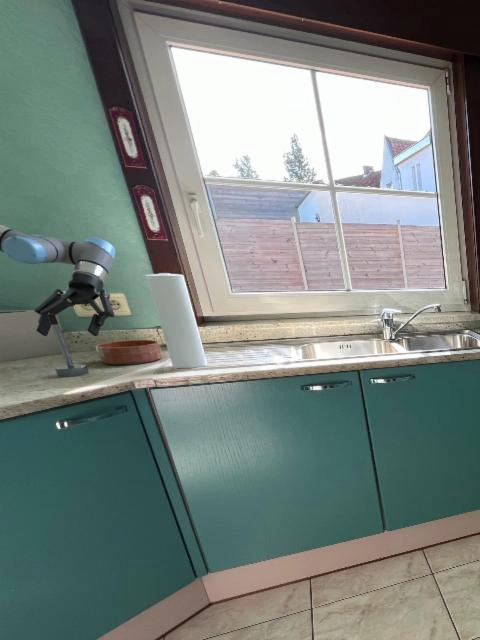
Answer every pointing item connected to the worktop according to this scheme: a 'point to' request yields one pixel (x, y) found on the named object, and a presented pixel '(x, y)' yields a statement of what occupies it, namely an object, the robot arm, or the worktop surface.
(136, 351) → the bowl
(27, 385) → the worktop surface
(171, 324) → the cylinder container
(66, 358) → the potato masher
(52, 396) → the worktop surface
